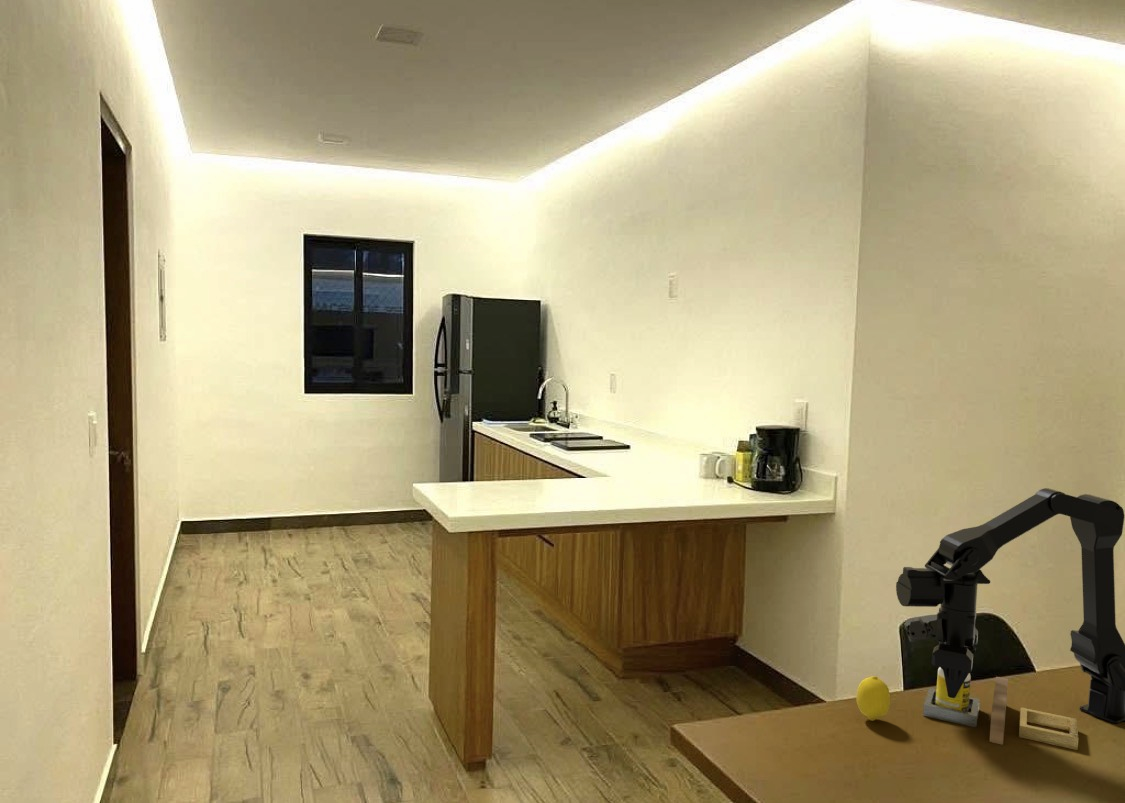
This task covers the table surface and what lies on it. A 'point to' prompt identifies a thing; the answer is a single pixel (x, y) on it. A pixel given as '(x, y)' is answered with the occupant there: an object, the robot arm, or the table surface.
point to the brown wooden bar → (998, 711)
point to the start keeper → (951, 711)
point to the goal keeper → (1045, 734)
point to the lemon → (873, 698)
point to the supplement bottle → (961, 698)
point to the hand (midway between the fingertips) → (952, 691)
